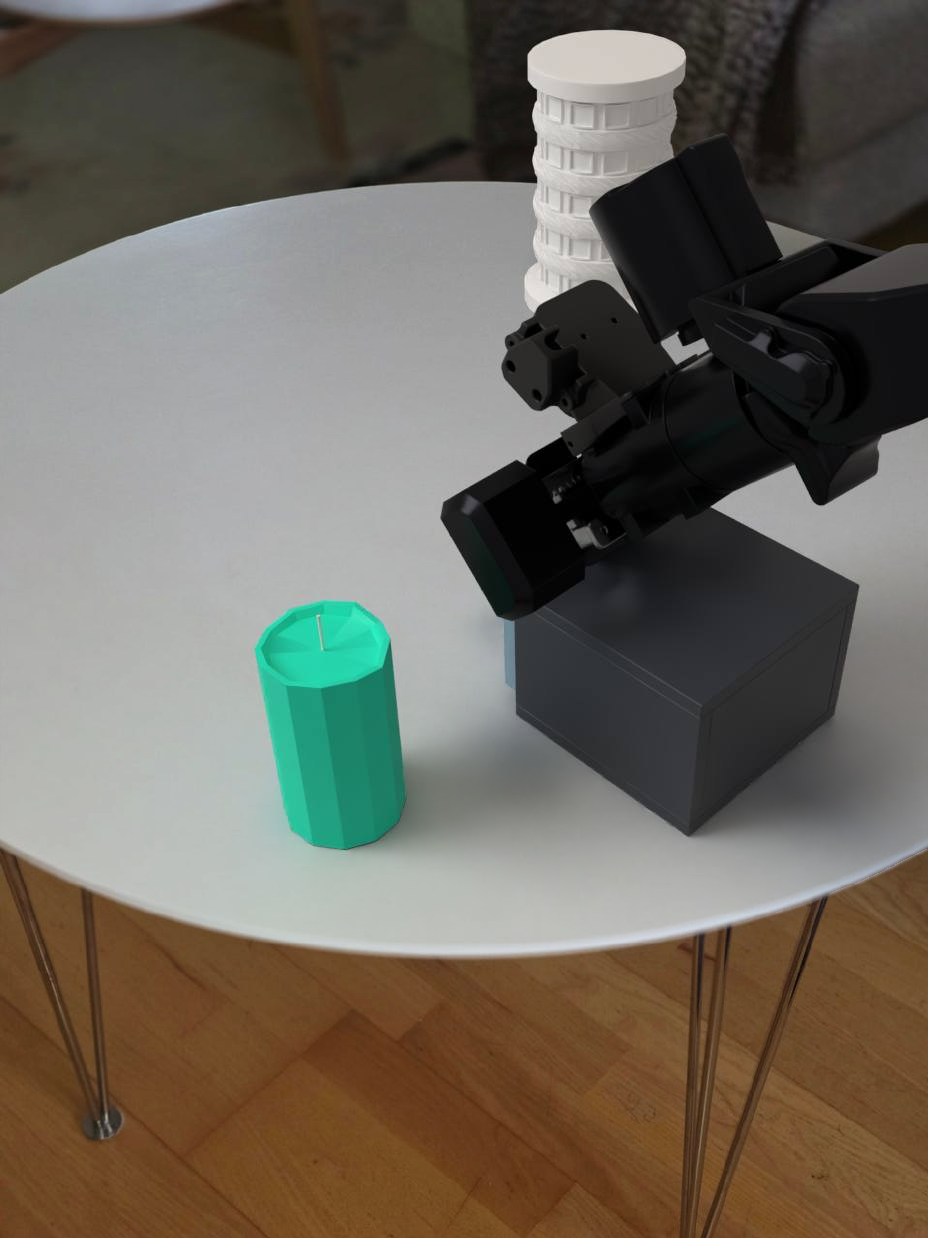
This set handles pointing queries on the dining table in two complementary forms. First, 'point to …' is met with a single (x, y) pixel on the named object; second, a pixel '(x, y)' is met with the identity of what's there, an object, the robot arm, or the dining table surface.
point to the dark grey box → (687, 662)
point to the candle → (333, 722)
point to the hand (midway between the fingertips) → (532, 520)
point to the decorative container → (593, 143)
